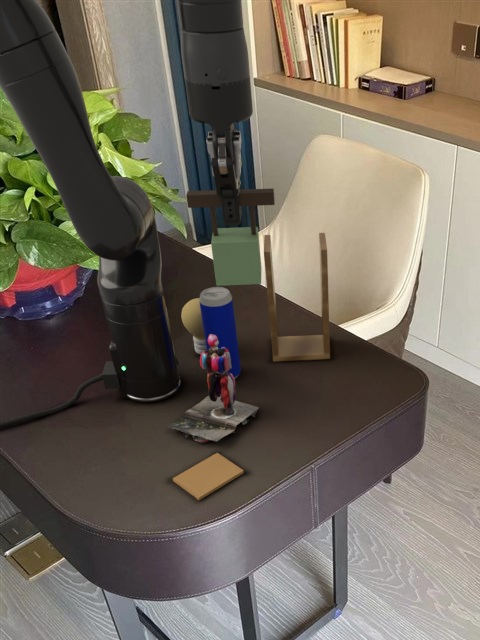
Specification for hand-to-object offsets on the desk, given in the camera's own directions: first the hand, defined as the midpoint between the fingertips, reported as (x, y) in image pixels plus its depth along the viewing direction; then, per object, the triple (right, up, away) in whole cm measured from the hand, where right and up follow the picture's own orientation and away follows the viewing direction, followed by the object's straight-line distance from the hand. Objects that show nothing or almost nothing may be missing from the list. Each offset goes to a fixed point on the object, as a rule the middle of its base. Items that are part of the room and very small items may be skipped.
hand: (232, 221), depth 94 cm
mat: (-5, -34, +8) cm, 35 cm away
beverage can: (-6, -17, +29) cm, 34 cm away
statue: (-6, -26, +18) cm, 32 cm away
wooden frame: (+7, -11, +35) cm, 37 cm away
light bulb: (-10, -12, +35) cm, 38 cm away
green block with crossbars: (0, -6, +5) cm, 8 cm away
